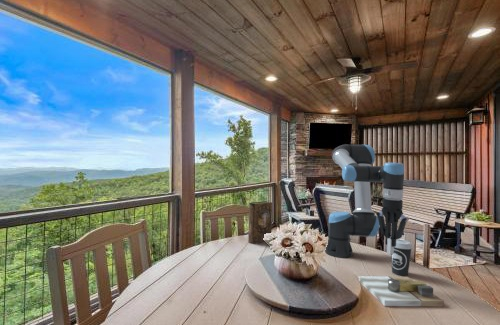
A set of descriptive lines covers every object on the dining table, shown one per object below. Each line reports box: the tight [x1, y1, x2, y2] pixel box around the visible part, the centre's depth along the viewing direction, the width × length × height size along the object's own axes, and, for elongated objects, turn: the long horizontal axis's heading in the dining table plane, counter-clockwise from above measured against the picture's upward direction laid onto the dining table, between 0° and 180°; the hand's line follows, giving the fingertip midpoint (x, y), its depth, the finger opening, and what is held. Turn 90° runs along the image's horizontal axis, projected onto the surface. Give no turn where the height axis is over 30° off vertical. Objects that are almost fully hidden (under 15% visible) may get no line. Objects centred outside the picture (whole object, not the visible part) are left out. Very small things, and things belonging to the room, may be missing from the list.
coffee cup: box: [390, 238, 413, 277], centre depth 122 cm, size 10×10×15 cm
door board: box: [358, 275, 445, 307], centre depth 103 cm, size 20×22×5 cm
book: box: [247, 200, 273, 245], centre depth 167 cm, size 16×6×25 cm, turn 130°
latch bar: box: [388, 279, 428, 292], centre depth 101 cm, size 14×4×3 cm, turn 94°
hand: (390, 253), depth 111 cm, fingers closed
